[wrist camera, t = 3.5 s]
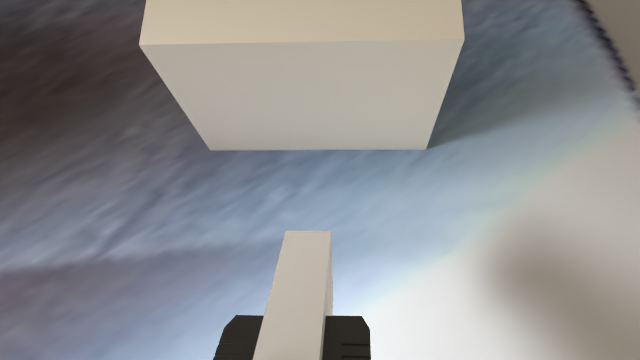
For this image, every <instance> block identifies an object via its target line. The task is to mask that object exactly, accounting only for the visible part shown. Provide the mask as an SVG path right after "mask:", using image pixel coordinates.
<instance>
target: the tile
mask: <svg viewBox="0 0 640 360" xmlns="http://www.w3.org/2000/svg"><path fill="white" fill-rule="evenodd" d="M464 39H465V38H464V27H463V16H462V5H461V0H146V6H145V12H144V17H143V23H142V29H141V35H140V41H139V46H140V47H141V49H142V50H143V52H144V53H145V55H146V56H147V58H148V59H149V61H150V62H151V64H152V65H153V67H154V68H155V70H156V71H157V73H158V74H159V75H160V77H161V78H162V80H163V81H164V83H165V84H166V86H167V87H168V89H169V90H170V92H171V93H172V95H173V96H174V98H175V99H176V101H177V102H178V103H179V105H180V106H181V108H182V109H183V111H184V112H185V114H186V115H187V117H188V118H189V120H190V121H191V123H192V124H193V126H194V127H195V129H196V130H197V132H198V133H199V134H200V136H201V137H202V139H203V140H204V142H205V143H206V145H207V146H208V148H209V149H210V150H426V148H427V145H428V142H429V139H430V136H431V134H432V131H433V128H434V125H435V122H436V119H437V116H438V114H439V111H440V108H441V105H442V102H443V99H444V96H445V94H446V91H447V88H448V85H449V82H450V79H451V76H452V74H453V71H454V68H455V65H456V62H457V59H458V56H459V54H460V51H461V48H462V45H463V42H464Z"/></svg>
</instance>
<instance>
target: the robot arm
mask: <svg viewBox="0 0 640 360" xmlns="http://www.w3.org/2000/svg"><path fill="white" fill-rule="evenodd" d="M332 308H333V276H332V242H331V231H286V232H285V236H284V239H283V243H282V247H281V251H280V255H279V259H278V263H277V267H276V271H275V275H274V278H273V282H272V286H271V290H270V294H269V298H268V302H267V306H266V310H265V313H264V316H250V315H236V316H235V317H234V318H233V319H232V320H231V321H230V322H229V323H228V324H227V325H226V327H225V328H224V330H223V333H222V336H221V339H220V342H219V345H218V347H217V350H216V353H215V357H214V358H213V360H371V352H370V329H369V327H368V326H367V324H366V322H365V321H364V319H363V318H362V316H332Z"/></svg>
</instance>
